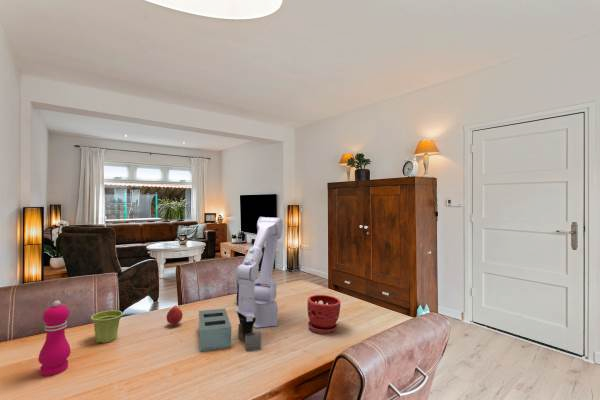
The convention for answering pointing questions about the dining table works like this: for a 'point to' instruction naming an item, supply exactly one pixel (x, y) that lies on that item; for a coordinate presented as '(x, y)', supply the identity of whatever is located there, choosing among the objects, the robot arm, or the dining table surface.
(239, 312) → the robot arm
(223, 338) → the toaster
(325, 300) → the plant pot
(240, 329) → the block
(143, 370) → the dining table surface
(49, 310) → the pepper mill
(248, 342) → the grey tall block
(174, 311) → the onion
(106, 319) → the plant pot
